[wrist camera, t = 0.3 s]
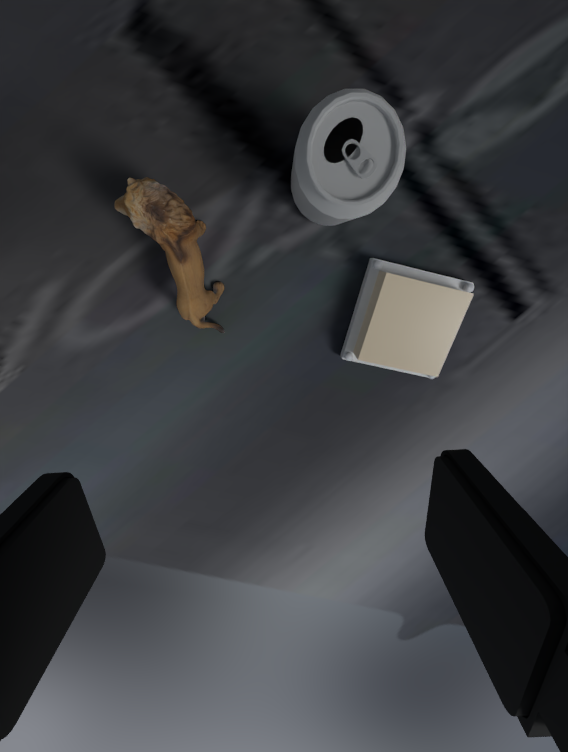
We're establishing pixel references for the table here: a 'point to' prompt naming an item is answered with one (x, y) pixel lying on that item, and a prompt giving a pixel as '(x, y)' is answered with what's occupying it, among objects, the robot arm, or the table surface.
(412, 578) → the table surface
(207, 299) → the lion figurine
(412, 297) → the tower base
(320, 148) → the can
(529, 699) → the robot arm
